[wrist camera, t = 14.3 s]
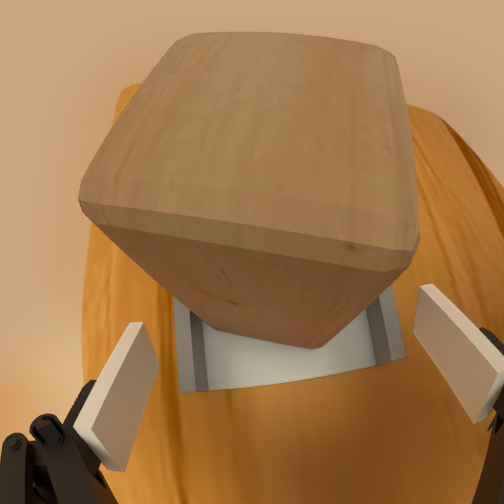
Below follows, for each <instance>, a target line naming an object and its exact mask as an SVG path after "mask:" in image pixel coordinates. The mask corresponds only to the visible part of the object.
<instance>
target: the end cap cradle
mask: <svg viewBox="0 0 504 504" xmlns="http://www.w3.org/2000/svg"><path fill="white" fill-rule="evenodd" d="M174 317H175V335H176V350H177V363H178V375H179V386H180V393H182V392H200V391H209V390H223V389H234V388H244V387H254V386H262V385H270V384H278V383H285V382H292V381H298V380H304V379H310V378H316V377H322V376H327V375H332V374H338V373H343V372H347V371H352V370H357V369H361V368H366V367H370V366H374V365H379V364H383V363H388V362H392V361H396V360H400V359H404V358H406V353H405V347H404V342H403V337H402V332H401V327H400V322H399V318H398V313H397V309H396V304H395V300H394V296H393V292H392V288H391V285H390V286H389V287H388V288H387V289H386V290H385V291H384V292H383V293H382V294H381V295H380V296H379V297H377V298H376V299H375V300H374V301H373V302H372V303H371V304H370V305H369V306H368V307H367V308H366V309H365V310H364V311H363V312H362V313H360V314H359V315H358V316H357V317H356V318H355V319H354V320H353V321H352V322H351V323H349V324H348V325H347V326H346V327H345V328H344V329H343V330H342V331H340V332H339V333H338V334H337V335H336V336H335V337H334V338H332V339H331V340H330V341H329V342H328V343H327V344H325V345H324V346H323V347H321V348H317V349H307V348H302V347H296V346H290V345H285V344H280V343H275V342H269V341H264V340H259V339H255V338H250V337H245V336H240V335H236V334H231V333H227V332H222V331H218V330H215V329H213V328H212V327H210V326H209V325H208V324H206V323H205V322H204V321H203V320H202V319H200V318H199V317H198V316H197V315H195V314H194V313H193V312H192V311H191V310H189V309H188V308H187V307H186V306H185V305H183V304H182V303H181V302H180V301H179V300H177V299H176V298H175V297H174Z"/></svg>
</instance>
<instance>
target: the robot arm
mask: <svg viewBox="0 0 504 504" xmlns="http://www.w3.org/2000/svg"><path fill="white" fill-rule="evenodd" d="M413 334H414V335H415V337H416V338H417V339H418V341H419V342H420V344H421V345H422V346H423V348H424V349H425V351H426V352H427V354H428V355H429V356H430V358H431V359H432V361H433V362H434V364H435V365H436V367H437V368H438V370H439V371H440V373H441V374H442V376H443V377H444V379H445V380H446V382H447V383H448V385H449V386H450V388H451V389H452V391H453V392H454V394H455V396H456V397H457V399H458V400H459V402H460V403H461V405H462V407H463V408H464V410H465V411H466V413H467V415H468V416H469V418H470V420H471V421H472V423H473V424H475V423H478V422H480V421H482V420H484V419H486V418H488V416H489V414H490V412H491V411H492V409H493V408H494V409H495V411H496V412H497V413H496V415H495V417H494V419H493V420H492V422H491V424H490V426H489V428H488V430H487V431H490V429H491V428H492V432H491V437H490V442H489V446H488V450H487V455H486V458H485V462H484V466H483V470H482V473H481V477H480V480H479V483H478V486H477V490H476V493H475V496H474V498H473V501H472V504H504V344H503V343H502V342H501V341H499V339H498V338H497V337H496V336H495V335H494V334H493V333H492V332H490V331H488V330H487V329H485V328H483V327H482V328H479V329H478V328H477V327H476V326H475V325H474V324H473V323H472V322H471V321H470V320H469V319H468V318H467V317H466V316H465V315H464V314H463V313H462V312H461V311H460V310H459V309H458V308H457V307H456V306H455V305H454V304H453V303H452V302H451V301H450V300H449V299H448V298H447V297H446V296H445V295H444V294H443V293H442V292H441V291H440V290H439V289H438V288H436V287H435V286H434V285H433V284H427V285H422V286H419V292H418V301H417V308H416V316H415V322H414V329H413ZM159 367H160V365H159V362H158V359H157V357H156V354H155V352H154V349H153V346H152V343H151V341H150V338H149V335H148V332H147V329H146V327H145V324H144V322H130V323H129V325H128V326H127V328H126V330H125V331H124V333H123V335H122V336H121V338H120V340H119V342H118V343H117V345H116V347H115V349H114V350H113V352H112V354H111V356H110V357H109V359H108V361H107V363H106V365H105V366H104V368H103V370H102V372H101V374H100V376H99V377H98V379H97V380H90V381H89V382H88V383H87V384H86V385H85V386H84V387H83V388H82V390H81V391H80V393H79V395H78V398H76V401H75V402H74V405H73V406H72V408H71V409H70V411H69V413H68V415H67V417H66V419H65V421H64V423H63V424H62V423H61V422H60V421H59V419H58V418H57V417H56V416H55V415H53V414H43V415H40V416H39V417H37V418H36V419H35V420H34V421H33V422H32V424H31V426H30V433H31V435H32V436H33V437H34V438H35V440H36V441H29V440H28V439H27V438H26V437H25V436H24V435H23V434H21V433H13V434H11V435H9V436H8V437H7V438H6V439H5V441H4V442H3V445H2V452H1V460H0V504H118V502H117V501H116V499H115V497H114V495H113V493H112V491H111V490H110V488H109V486H108V484H107V482H106V480H105V478H104V476H103V474H102V472H101V471H100V470H99V466H100V463H101V462H102V464H103V465H104V466H105V467H106V468H107V469H108V470H112V471H118V472H125V470H126V467H127V464H128V460H129V457H130V454H131V451H132V448H133V445H134V441H135V438H136V435H137V432H138V429H139V426H140V423H141V420H142V417H143V414H144V411H145V408H146V405H147V402H148V399H149V396H150V393H151V390H152V387H153V384H154V382H155V379H156V376H157V373H158V370H159ZM492 426H493V427H492Z"/></svg>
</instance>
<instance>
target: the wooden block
mask: <svg viewBox="0 0 504 504" xmlns="http://www.w3.org/2000/svg"><path fill="white" fill-rule="evenodd" d="M78 201H79V203H80V206H81V209H82V212H83V213H84V214H85V215H86V216H87V217H88V218H89V219H90V220H91V221H92V222H93V223H94V224H95V225H96V226H97V227H98V228H99V229H100V230H101V231H102V232H103V233H104V234H105V235H106V236H107V237H108V238H110V239H111V240H112V241H113V242H114V243H115V244H116V245H117V246H118V247H119V248H120V249H121V250H122V251H123V252H124V253H125V254H127V255H128V256H129V257H130V258H131V259H132V260H133V261H134V262H135V263H136V264H137V265H139V266H140V267H141V268H142V269H143V270H144V271H145V272H146V273H147V274H149V275H150V276H151V277H152V278H153V279H154V280H155V281H157V282H158V283H159V284H160V285H161V286H162V287H163V288H165V289H166V290H167V291H168V292H169V293H170V294H172V295H173V296H174V297H175V298H176V299H177V300H179V301H180V302H181V303H182V304H183V305H185V306H186V307H187V308H188V309H189V310H191V311H192V312H193V313H194V314H195V315H197V316H198V317H199V318H200V319H202V320H203V321H204V322H205V323H206V324H208V325H209V326H210V327H212V328H213V329H215V330H218V331H222V332H227V333H231V334H236V335H240V336H245V337H250V338H255V339H259V340H264V341H269V342H275V343H280V344H285V345H290V346H296V347H302V348H307V349H317V348H321V347H323V346H324V345H325V344H327V343H328V342H329V341H330V340H331V339H332V338H334V337H335V336H336V335H337V334H338V333H339V332H340V331H342V330H343V329H344V328H345V327H346V326H347V325H348V324H349V323H351V322H352V321H353V320H354V319H355V318H356V317H357V316H358V315H359V314H360V313H362V312H363V311H364V310H365V309H366V308H367V307H368V306H369V305H370V304H371V303H372V302H373V301H374V300H375V299H376V298H377V297H379V296H380V295H381V294H382V293H383V292H384V291H385V290H386V289H387V288H388V287H389V286H390V285H391V284H392V283H393V282H394V281H395V280H396V279H397V278H398V277H399V276H400V275H401V274H402V273H403V272H404V271H405V270H406V269H407V268H408V267H409V265H410V263H411V261H412V259H413V256H414V254H415V252H416V249H417V247H418V245H419V241H420V234H419V206H418V191H417V179H416V169H415V160H414V152H413V144H412V137H411V130H410V124H409V118H408V112H407V107H406V102H405V96H404V92H403V87H402V83H401V78H400V74H399V70H398V65H397V61H396V57H395V56H394V55H392V54H391V53H390V52H388V51H386V50H384V49H382V48H380V47H378V46H375V45H370V44H365V43H360V42H354V41H348V40H342V39H335V38H328V37H320V36H311V35H300V34H288V33H270V32H214V33H197V34H191V35H188V36H186V37H184V38H182V39H180V40H178V41H176V42H175V43H174V44H173V45H172V46H171V47H170V49H169V50H168V51H167V52H166V53H165V55H164V56H163V57H162V58H161V60H160V61H159V62H158V64H157V65H156V66H155V67H154V69H153V70H152V71H151V72H150V74H149V75H148V76H147V78H146V79H145V80H144V82H143V83H142V84H141V86H140V87H139V88H138V90H137V91H136V93H135V94H134V95H133V97H132V98H131V100H130V101H129V103H128V104H127V105H126V107H125V108H124V110H123V111H122V113H121V114H120V116H119V117H118V119H117V120H116V122H115V124H114V125H113V127H112V128H111V130H110V131H109V133H108V135H107V136H106V138H105V140H104V142H103V143H102V145H101V146H100V148H99V150H98V151H97V153H96V155H95V157H94V158H93V160H92V162H91V164H90V165H89V167H88V169H87V171H86V173H85V175H84V176H83V178H82V180H81V184H80V191H79V196H78Z"/></svg>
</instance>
